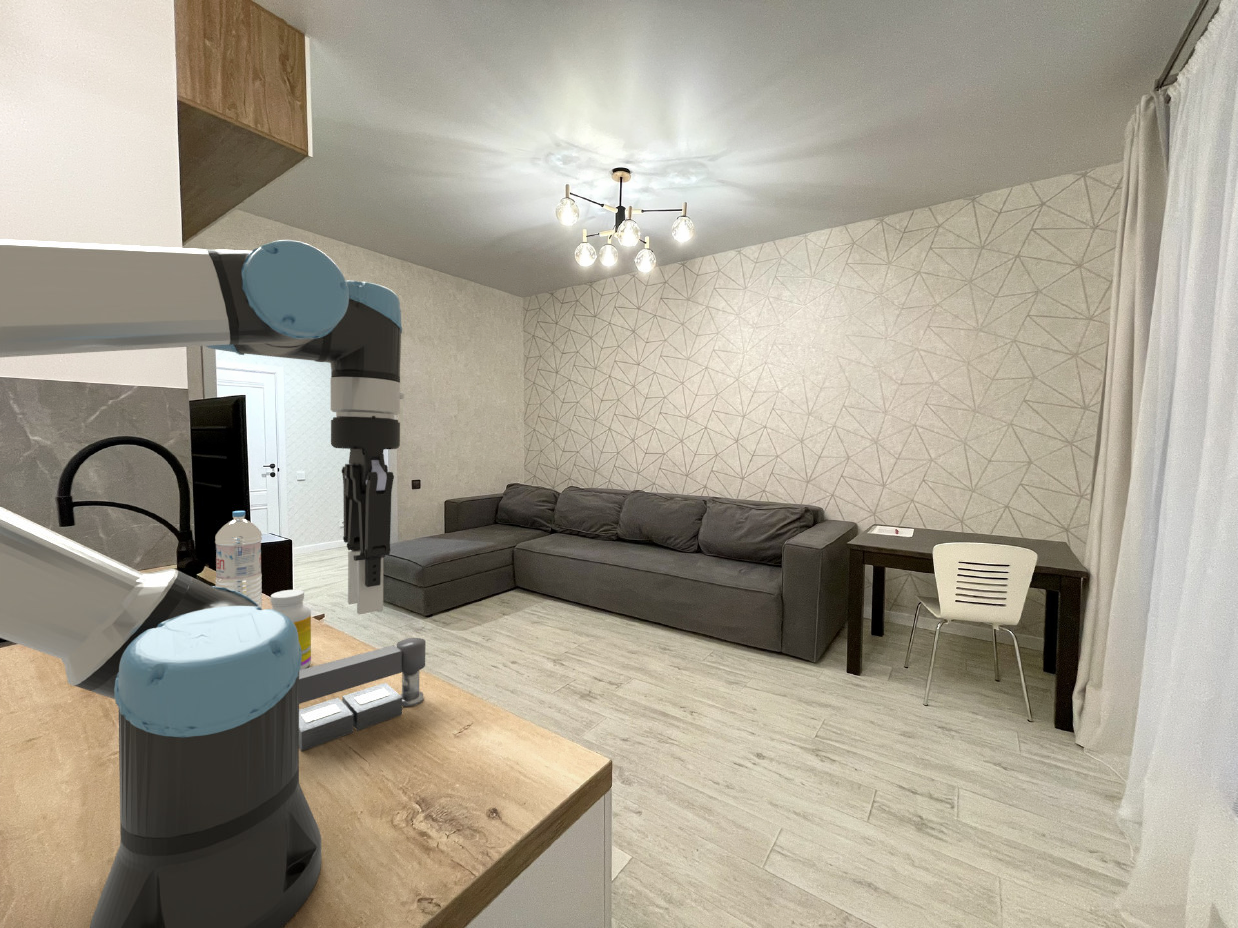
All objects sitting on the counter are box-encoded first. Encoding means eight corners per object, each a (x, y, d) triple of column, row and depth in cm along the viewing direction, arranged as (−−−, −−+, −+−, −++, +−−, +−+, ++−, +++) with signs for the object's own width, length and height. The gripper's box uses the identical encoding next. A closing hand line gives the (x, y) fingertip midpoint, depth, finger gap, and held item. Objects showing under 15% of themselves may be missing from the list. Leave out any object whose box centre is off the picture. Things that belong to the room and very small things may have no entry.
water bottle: (222, 640, 95) (221, 509, 94) (265, 635, 98) (265, 508, 97) (210, 654, 89) (209, 514, 88) (257, 649, 92) (257, 513, 91)
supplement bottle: (320, 661, 88) (320, 588, 87) (291, 679, 81) (291, 600, 81) (284, 658, 88) (284, 586, 88) (253, 676, 82) (253, 598, 81)
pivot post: (403, 709, 73) (403, 677, 73) (393, 700, 76) (393, 668, 75) (427, 700, 76) (428, 669, 75) (417, 692, 78) (417, 661, 78)
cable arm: (299, 707, 63) (299, 679, 63) (291, 695, 66) (291, 668, 66) (429, 667, 75) (430, 643, 75) (418, 658, 78) (418, 635, 78)
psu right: (357, 731, 67) (357, 712, 67) (342, 713, 72) (342, 695, 71) (402, 714, 72) (402, 696, 72) (385, 698, 76) (385, 681, 76)
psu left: (301, 751, 63) (301, 731, 63) (289, 731, 67) (289, 712, 67) (353, 732, 67) (353, 713, 67) (338, 714, 71) (338, 696, 71)
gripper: (422, 416, 57) (420, 619, 58) (379, 419, 70) (377, 585, 71) (349, 412, 52) (348, 634, 53) (317, 416, 65) (316, 594, 66)
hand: (365, 606), depth 62 cm, fingers open, 4 cm apart
